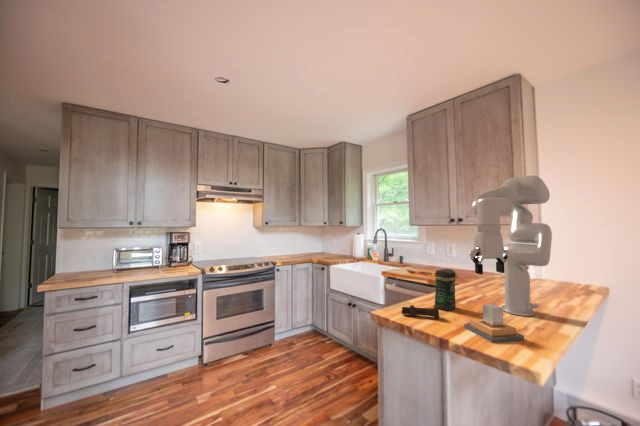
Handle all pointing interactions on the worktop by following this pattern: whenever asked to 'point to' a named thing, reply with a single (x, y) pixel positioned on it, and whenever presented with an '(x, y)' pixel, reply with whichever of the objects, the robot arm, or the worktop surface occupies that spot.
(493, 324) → the block
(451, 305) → the coffee jar
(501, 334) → the square socket base
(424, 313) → the bolt
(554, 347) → the worktop surface
